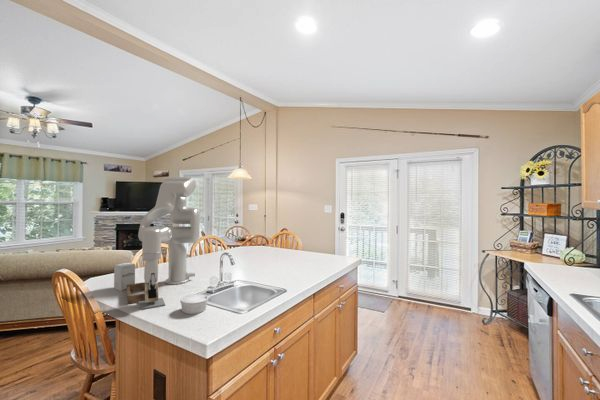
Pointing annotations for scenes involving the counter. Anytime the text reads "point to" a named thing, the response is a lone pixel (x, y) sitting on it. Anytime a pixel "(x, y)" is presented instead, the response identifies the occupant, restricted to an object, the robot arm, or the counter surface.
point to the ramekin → (194, 303)
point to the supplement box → (124, 275)
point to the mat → (151, 304)
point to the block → (147, 293)
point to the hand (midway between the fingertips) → (151, 295)
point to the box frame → (135, 297)
